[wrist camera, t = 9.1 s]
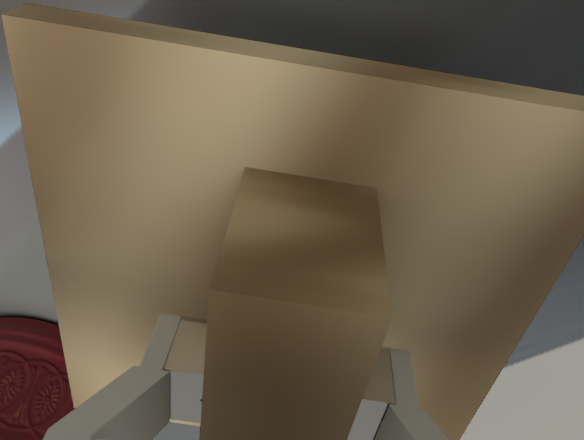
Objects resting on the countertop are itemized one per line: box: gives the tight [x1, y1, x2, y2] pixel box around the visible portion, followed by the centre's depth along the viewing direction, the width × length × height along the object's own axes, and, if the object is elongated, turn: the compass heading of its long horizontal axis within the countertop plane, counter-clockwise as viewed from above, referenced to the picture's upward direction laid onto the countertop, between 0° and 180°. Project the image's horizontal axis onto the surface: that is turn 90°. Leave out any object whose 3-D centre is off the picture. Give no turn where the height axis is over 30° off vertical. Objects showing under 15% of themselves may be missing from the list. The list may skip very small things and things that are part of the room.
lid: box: [2, 3, 584, 440], centre depth 13 cm, size 13×13×5 cm
